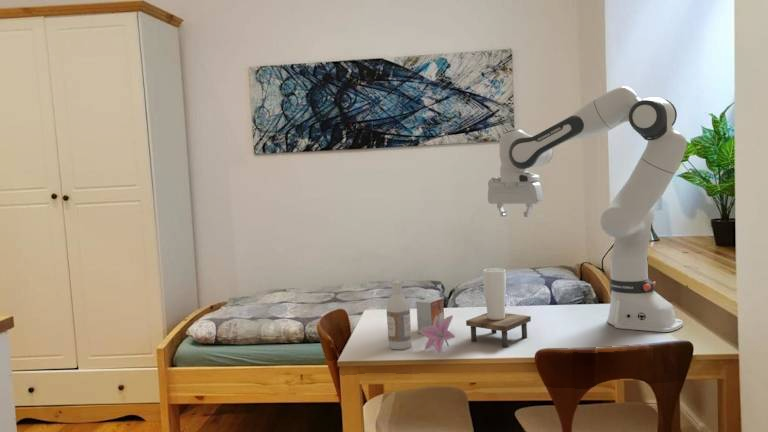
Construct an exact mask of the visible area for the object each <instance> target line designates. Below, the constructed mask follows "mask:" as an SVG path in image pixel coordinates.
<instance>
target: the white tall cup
mask: <svg viewBox="0 0 768 432" xmlns="http://www.w3.org/2000/svg"><path fill="white" fill-rule="evenodd" d="M482 280H483V281H482V282H483V290H484V297H485V298H484V299H485V304H486V306H485V307H486V313H487V317H488V319H490V320H502V319H504V318H505V313H506V293H507V276H506V269H505V268H502V267H501V268H500V267H492V268H491V267H490V268H485V269H483V270H482Z"/></svg>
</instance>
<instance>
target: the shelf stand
mask: <svg viewBox="0 0 768 432" xmlns="http://www.w3.org/2000/svg"><path fill="white" fill-rule="evenodd" d="M531 318H532V317H531V315H524V314H517V313H516V314H515V313H508V312H505V318H504V319H502V320H490V319H488V317H487V312H486V313H483V314H480V315H478V316H475V317H473V318H470V319H467V320H466V321H465V322H466V323H465V324H466V327H470V337H471V338H470V340H471V342H472V343H476V342H478V341H477V339H478V338H477V328H479V329H480V328H481V329H486V330H490V331H491V334H497V333H498V332H497V331H499V332H501V347H502V348H508V346H509V343H508V331H511V330H514V329H515V328H518V327H520V326H521V329H520V330H521V338H522V339H528V324H527V323H530V322H531V321H532V319H531Z"/></svg>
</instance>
